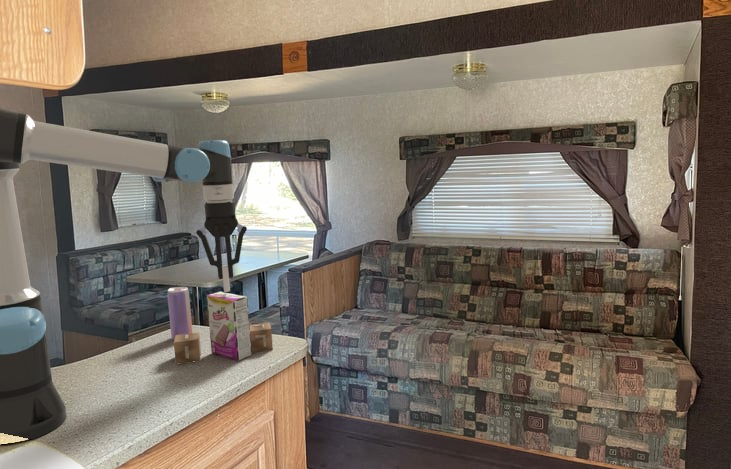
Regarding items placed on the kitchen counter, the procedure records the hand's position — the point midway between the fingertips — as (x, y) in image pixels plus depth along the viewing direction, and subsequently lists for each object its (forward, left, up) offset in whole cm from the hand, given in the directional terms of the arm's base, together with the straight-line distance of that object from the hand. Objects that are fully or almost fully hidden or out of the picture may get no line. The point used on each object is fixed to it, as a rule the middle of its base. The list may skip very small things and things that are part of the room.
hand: (227, 290), depth 143 cm
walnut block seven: (+8, +3, -18) cm, 20 cm away
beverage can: (-14, +19, -18) cm, 30 cm away
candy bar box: (0, 0, -18) cm, 18 cm away
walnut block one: (-11, +1, -18) cm, 21 cm away
